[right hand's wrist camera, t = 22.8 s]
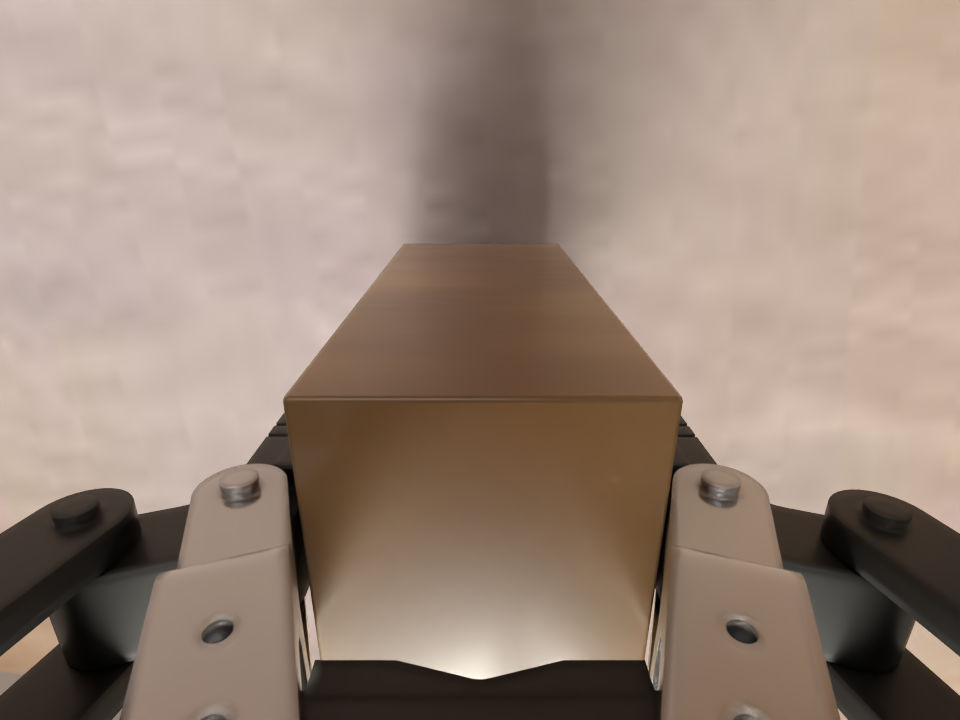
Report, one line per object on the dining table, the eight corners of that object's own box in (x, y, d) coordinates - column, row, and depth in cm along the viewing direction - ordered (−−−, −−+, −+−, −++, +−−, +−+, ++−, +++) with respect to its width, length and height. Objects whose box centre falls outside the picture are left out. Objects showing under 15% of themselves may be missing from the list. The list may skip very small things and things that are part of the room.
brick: (559, 243, 17) (686, 397, 7) (551, 391, 19) (640, 696, 9) (402, 243, 17) (280, 397, 7) (410, 391, 19) (324, 696, 9)
